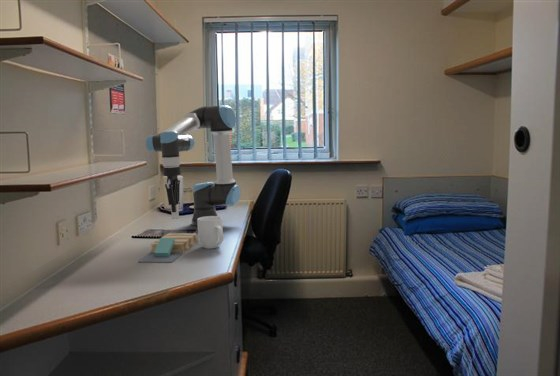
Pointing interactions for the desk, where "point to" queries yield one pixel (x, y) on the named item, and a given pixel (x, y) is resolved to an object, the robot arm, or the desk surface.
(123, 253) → the desk surface
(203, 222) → the mug
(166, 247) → the teal rectangular block
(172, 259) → the mat
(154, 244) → the board
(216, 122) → the robot arm
